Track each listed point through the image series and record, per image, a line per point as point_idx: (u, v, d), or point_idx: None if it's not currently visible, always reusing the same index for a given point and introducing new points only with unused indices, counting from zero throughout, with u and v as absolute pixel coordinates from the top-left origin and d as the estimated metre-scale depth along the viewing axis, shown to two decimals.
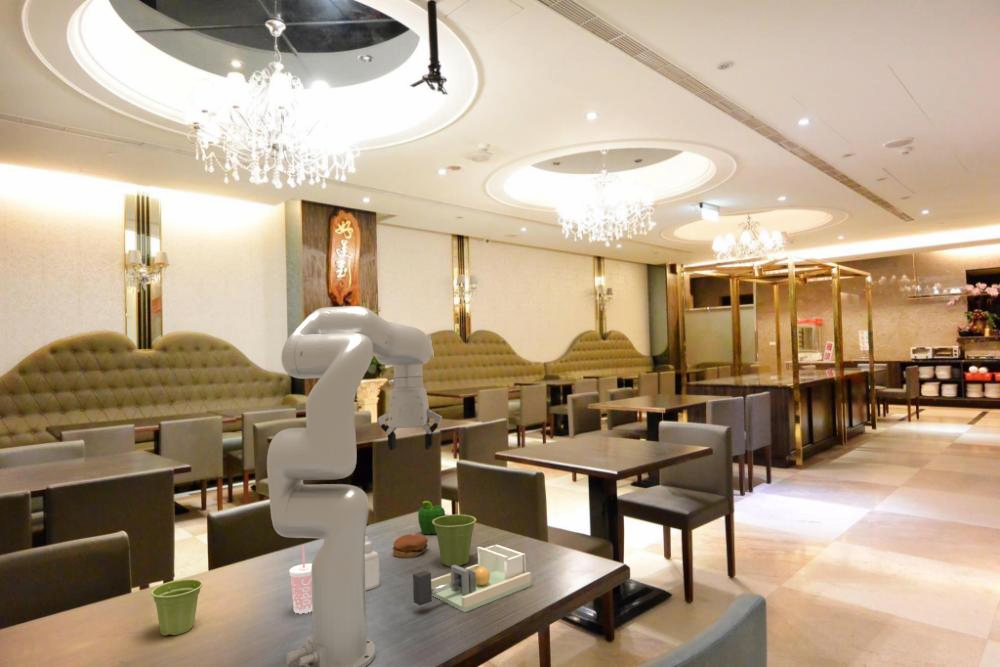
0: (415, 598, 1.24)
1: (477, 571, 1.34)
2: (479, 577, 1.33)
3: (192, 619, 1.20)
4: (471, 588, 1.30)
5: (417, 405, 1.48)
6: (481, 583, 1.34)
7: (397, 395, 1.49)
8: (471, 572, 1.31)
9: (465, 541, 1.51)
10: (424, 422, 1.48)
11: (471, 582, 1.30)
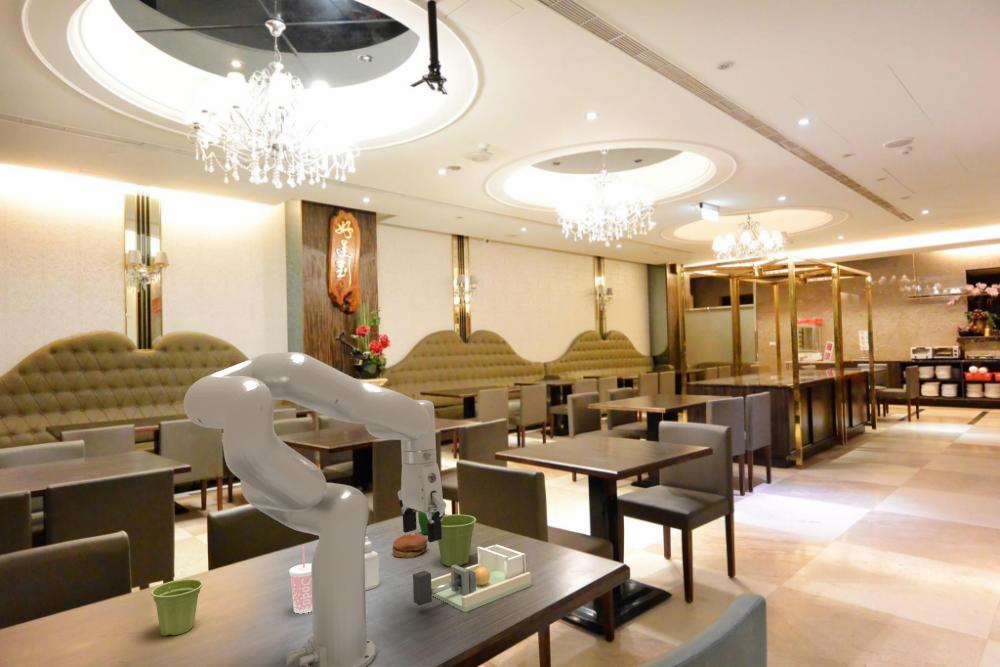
0: (415, 598, 1.24)
1: (477, 571, 1.34)
2: (479, 577, 1.33)
3: (192, 619, 1.20)
4: (471, 588, 1.30)
5: None
6: (481, 583, 1.34)
7: None
8: (471, 572, 1.31)
9: (465, 541, 1.51)
10: None
11: (471, 582, 1.30)
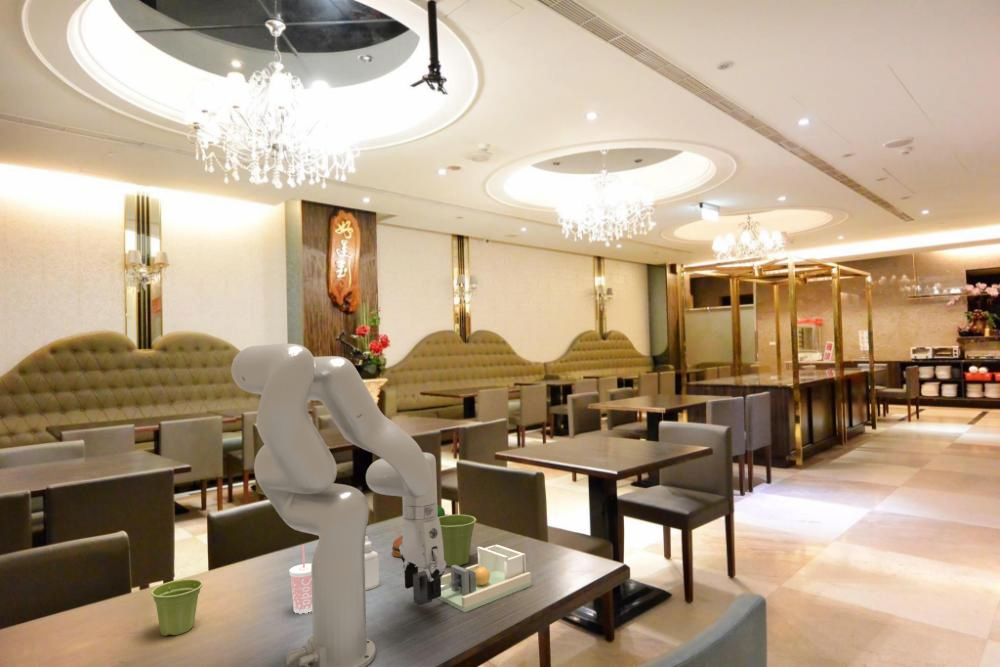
0: (415, 598, 1.24)
1: (477, 571, 1.34)
2: (479, 577, 1.33)
3: (192, 619, 1.20)
4: (471, 588, 1.30)
5: None
6: (481, 583, 1.34)
7: None
8: (471, 572, 1.31)
9: (465, 541, 1.51)
10: None
11: (471, 582, 1.30)
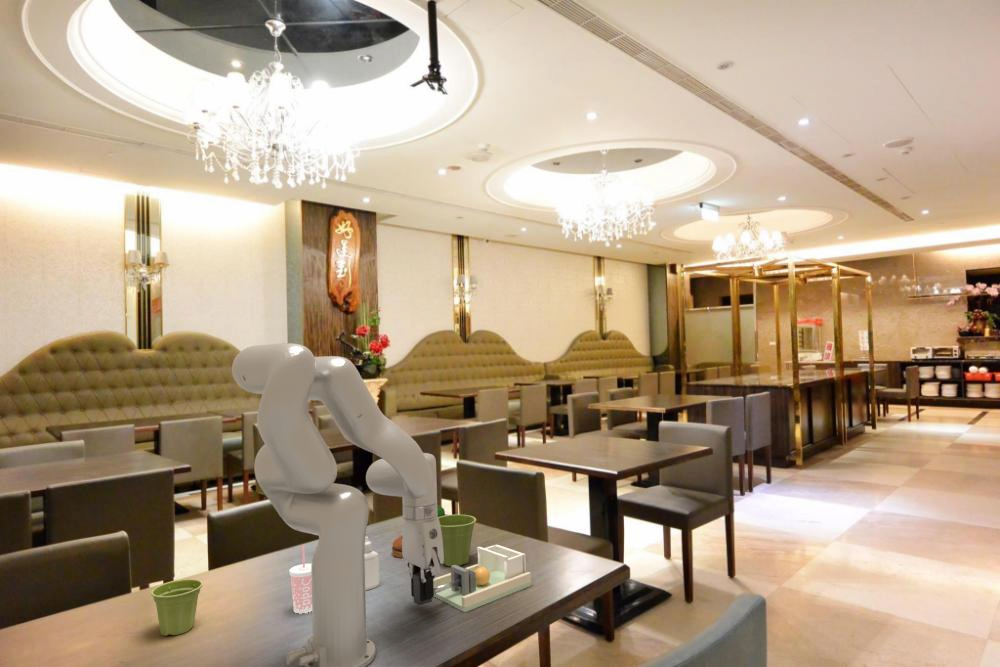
0: (415, 598, 1.24)
1: (477, 571, 1.34)
2: (479, 577, 1.33)
3: (192, 619, 1.20)
4: (471, 588, 1.30)
5: None
6: (481, 583, 1.34)
7: None
8: (471, 572, 1.31)
9: (465, 541, 1.51)
10: None
11: (471, 582, 1.30)
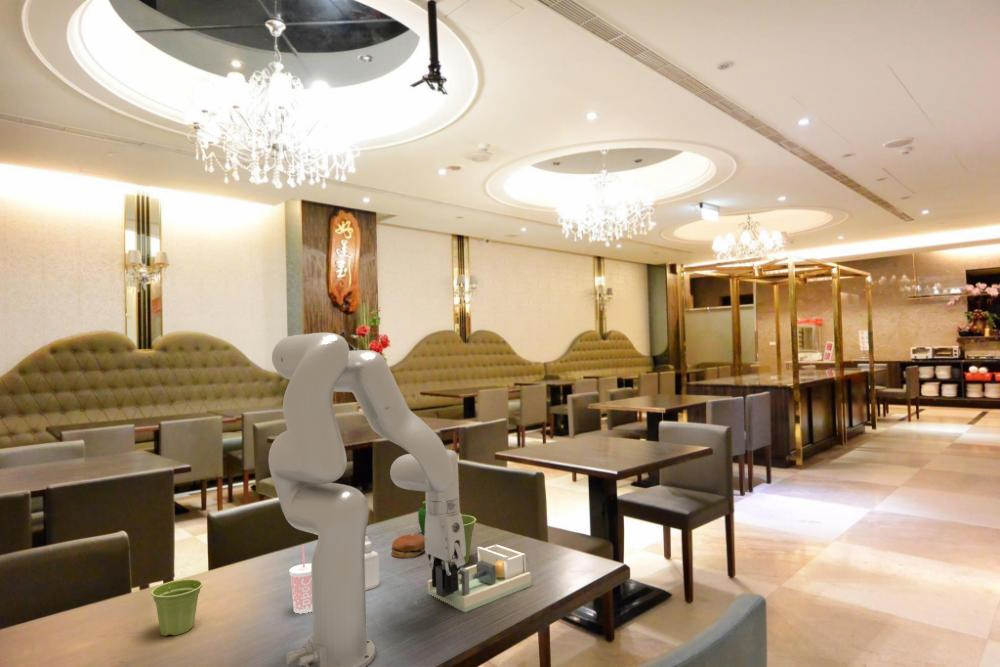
0: (438, 590, 1.28)
1: None
2: None
3: (192, 619, 1.20)
4: (491, 581, 1.34)
5: None
6: None
7: None
8: (491, 565, 1.35)
9: (465, 541, 1.51)
10: None
11: (491, 575, 1.34)
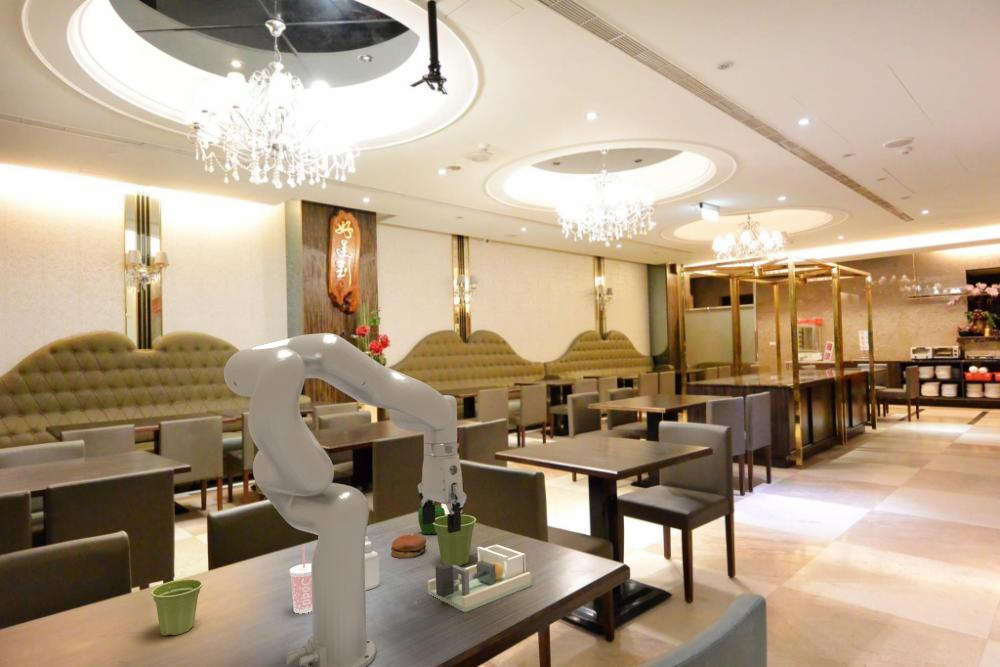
0: (438, 590, 1.28)
1: None
2: (501, 566, 1.38)
3: (192, 619, 1.20)
4: (491, 581, 1.34)
5: None
6: (497, 566, 1.37)
7: None
8: (491, 565, 1.35)
9: (465, 541, 1.51)
10: None
11: (491, 575, 1.34)
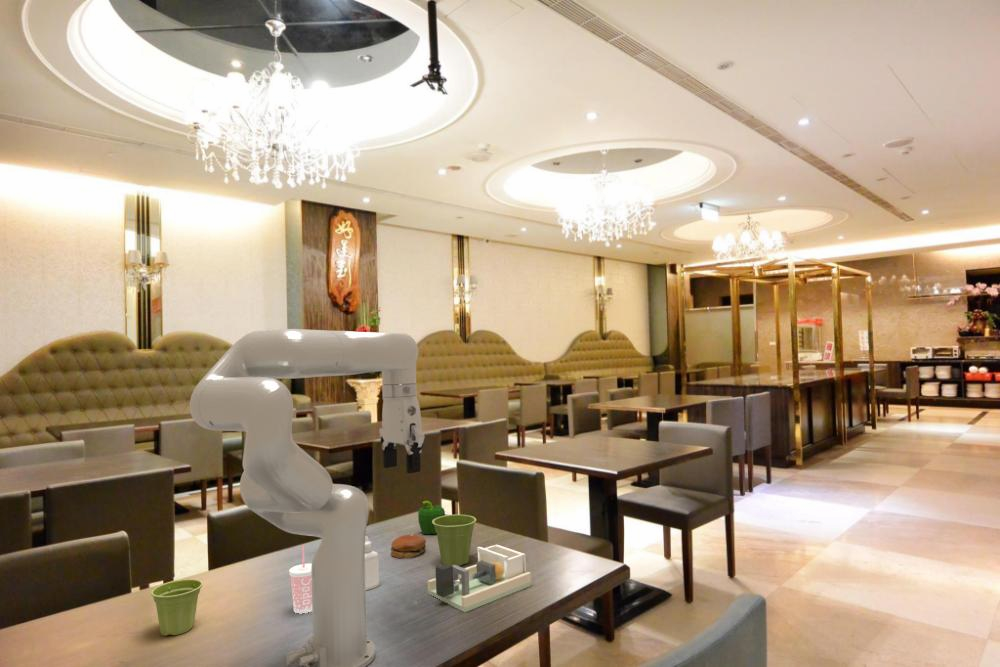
0: (438, 590, 1.28)
1: None
2: (502, 566, 1.38)
3: (192, 619, 1.20)
4: (491, 581, 1.34)
5: None
6: (498, 566, 1.37)
7: None
8: (491, 565, 1.35)
9: (465, 541, 1.51)
10: None
11: (491, 575, 1.34)
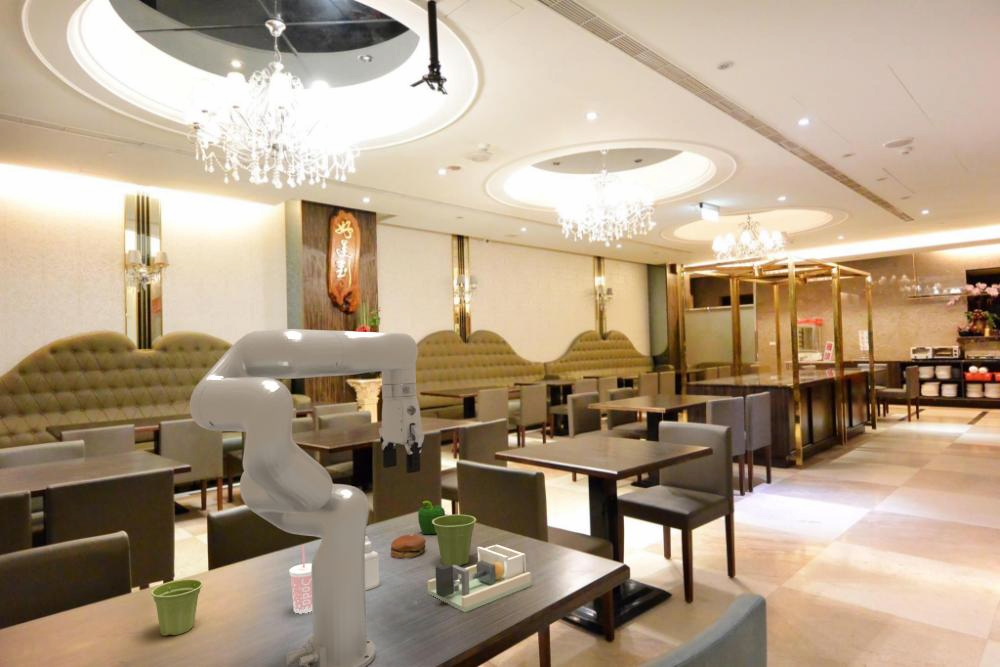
0: (438, 590, 1.28)
1: None
2: None
3: (192, 619, 1.20)
4: (491, 581, 1.34)
5: None
6: (498, 565, 1.37)
7: None
8: (491, 565, 1.35)
9: (465, 541, 1.51)
10: None
11: (491, 575, 1.34)
